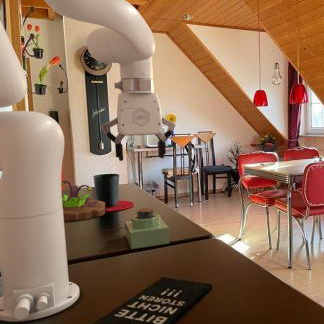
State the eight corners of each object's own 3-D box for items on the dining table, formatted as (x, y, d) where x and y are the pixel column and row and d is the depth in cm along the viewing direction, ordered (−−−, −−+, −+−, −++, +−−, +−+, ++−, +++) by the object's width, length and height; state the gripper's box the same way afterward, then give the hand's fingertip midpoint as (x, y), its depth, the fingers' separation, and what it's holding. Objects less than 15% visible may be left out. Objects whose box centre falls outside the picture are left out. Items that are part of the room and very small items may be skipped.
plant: (44, 210, 131) (41, 177, 130) (105, 204, 138) (103, 173, 136) (33, 225, 113) (29, 187, 111) (104, 218, 119) (102, 182, 118)
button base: (169, 243, 94) (168, 219, 93) (131, 249, 90) (129, 224, 89) (160, 231, 104) (159, 209, 103) (125, 236, 100) (124, 213, 99)
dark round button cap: (155, 218, 95) (155, 210, 95) (138, 220, 93) (138, 212, 93) (152, 215, 99) (152, 207, 98) (136, 217, 97) (135, 209, 97)
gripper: (100, 86, 86) (105, 163, 88) (177, 87, 93) (180, 158, 95) (97, 88, 92) (102, 160, 94) (169, 89, 99) (172, 155, 101)
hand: (141, 159), depth 94 cm, fingers open, 9 cm apart
